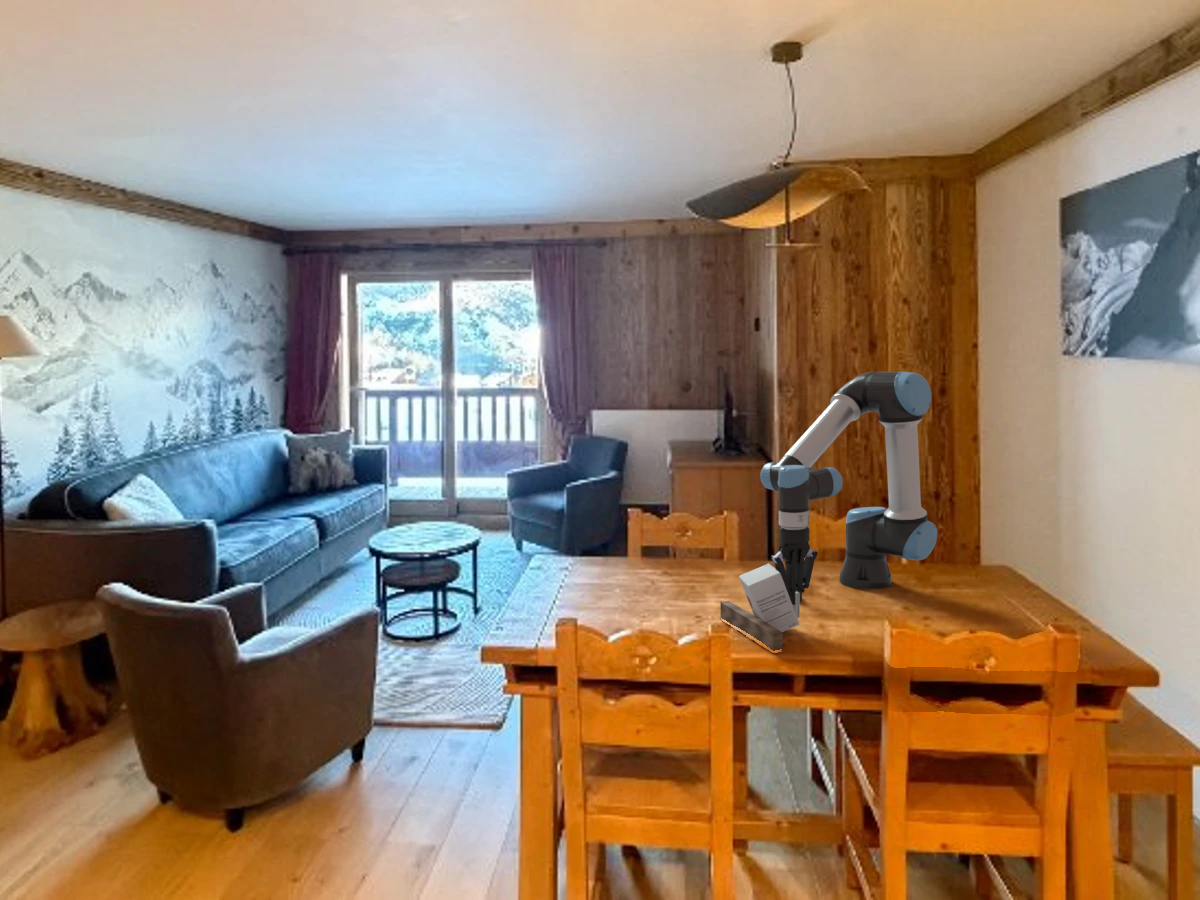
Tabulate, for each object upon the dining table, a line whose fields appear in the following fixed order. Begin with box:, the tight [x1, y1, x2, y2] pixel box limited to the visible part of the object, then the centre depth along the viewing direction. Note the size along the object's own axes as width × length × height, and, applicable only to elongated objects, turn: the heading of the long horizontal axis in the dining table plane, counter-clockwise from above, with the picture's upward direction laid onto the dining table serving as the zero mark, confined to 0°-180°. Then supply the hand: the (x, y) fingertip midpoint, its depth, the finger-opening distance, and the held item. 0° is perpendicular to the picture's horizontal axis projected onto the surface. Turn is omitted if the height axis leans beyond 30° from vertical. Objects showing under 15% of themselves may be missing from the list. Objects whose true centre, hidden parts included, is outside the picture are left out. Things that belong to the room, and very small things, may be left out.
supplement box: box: [738, 562, 800, 633], centre depth 203 cm, size 9×9×15 cm
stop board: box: [720, 600, 783, 651], centre depth 202 cm, size 26×2×5 cm, turn 20°
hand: (795, 615), depth 206 cm, fingers closed
